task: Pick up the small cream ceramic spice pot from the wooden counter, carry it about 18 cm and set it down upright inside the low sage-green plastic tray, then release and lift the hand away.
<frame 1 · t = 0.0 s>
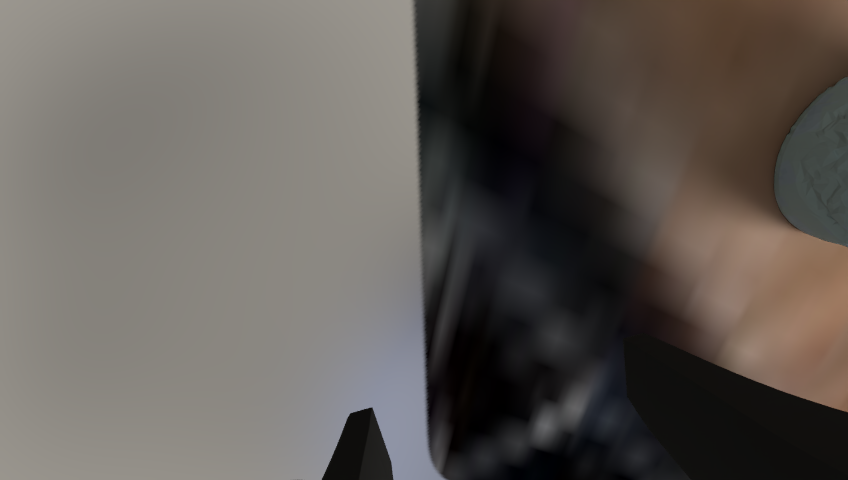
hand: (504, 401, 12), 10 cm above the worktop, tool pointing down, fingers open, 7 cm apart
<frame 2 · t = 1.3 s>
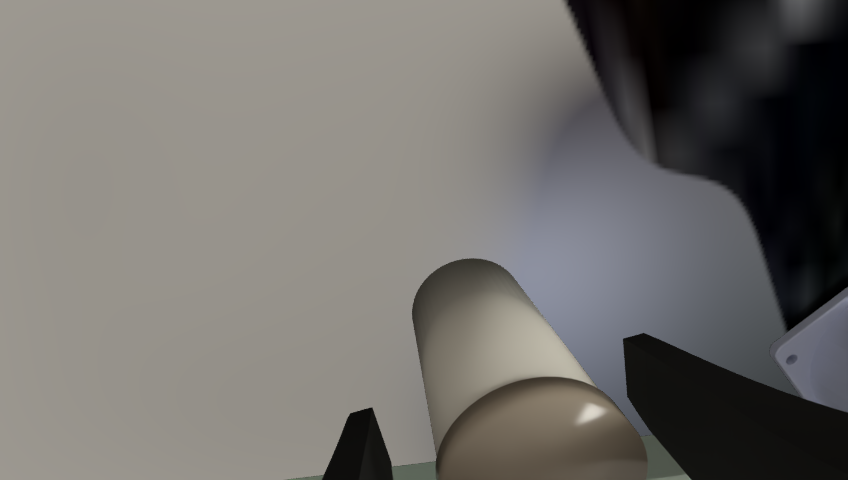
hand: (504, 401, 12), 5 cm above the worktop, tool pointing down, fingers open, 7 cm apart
spice pot: (467, 310, 17), on the worktop
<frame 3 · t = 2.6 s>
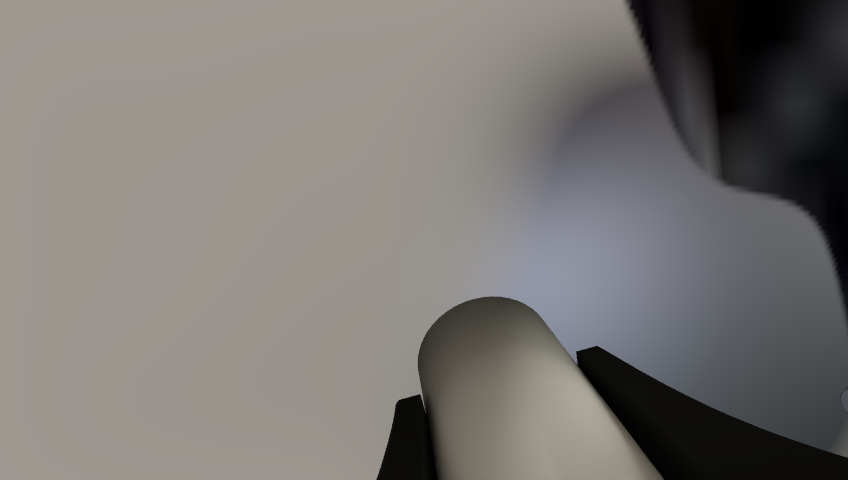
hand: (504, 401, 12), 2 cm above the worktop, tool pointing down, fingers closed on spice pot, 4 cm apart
spice pot: (485, 358, 14), on the worktop, touching gripper
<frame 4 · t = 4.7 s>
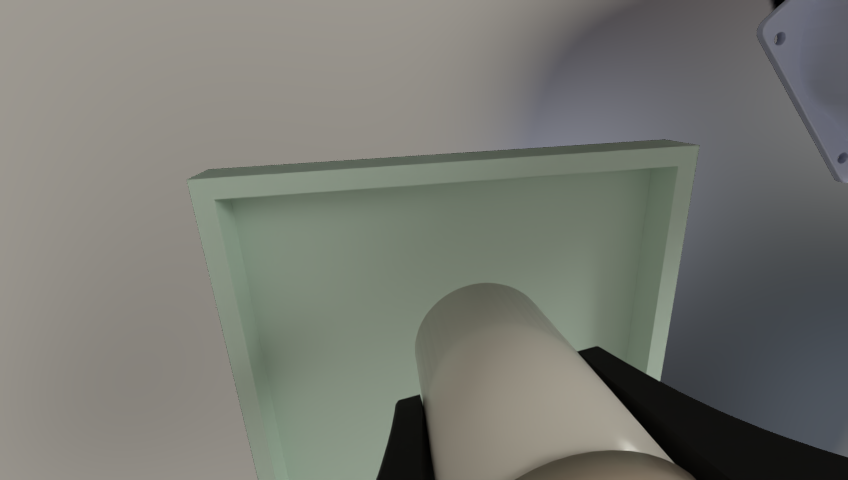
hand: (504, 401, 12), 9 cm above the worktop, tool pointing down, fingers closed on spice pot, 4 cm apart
spice pot: (482, 346, 14), point 7 cm above the worktop, touching gripper
tray: (454, 366, 22), on the worktop
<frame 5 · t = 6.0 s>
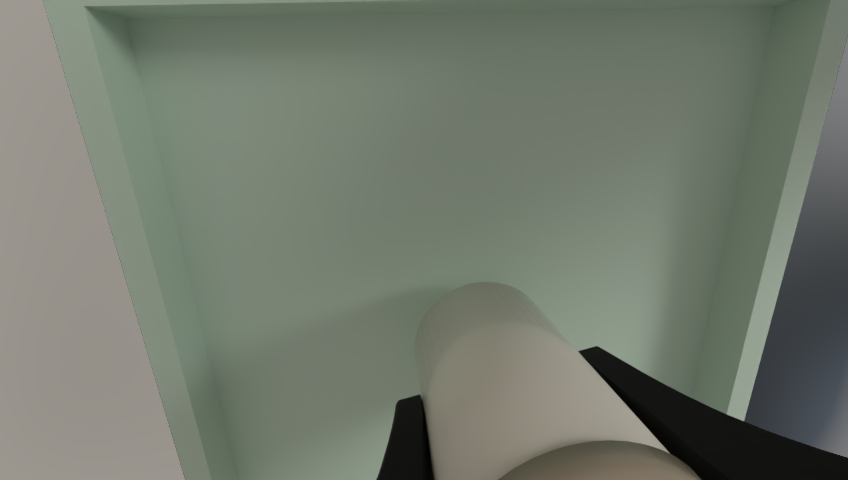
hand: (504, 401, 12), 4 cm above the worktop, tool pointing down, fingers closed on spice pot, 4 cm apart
spice pot: (481, 345, 14), point 2 cm above the worktop, tilted 5°, touching gripper
tray: (470, 322, 16), on the worktop
when the fingers open (4 cm above the worktop, at t = 6.9 s): spice pot stays where it is, resting on tray.
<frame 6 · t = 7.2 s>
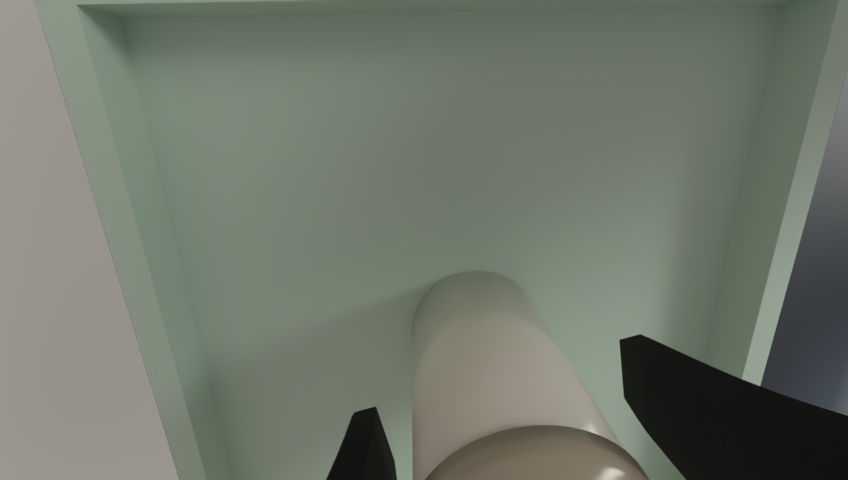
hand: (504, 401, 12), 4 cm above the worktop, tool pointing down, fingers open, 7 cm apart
spice pot: (475, 329, 15), point 1 cm above the worktop, tilted 5°, touching tray
tray: (472, 326, 15), on the worktop
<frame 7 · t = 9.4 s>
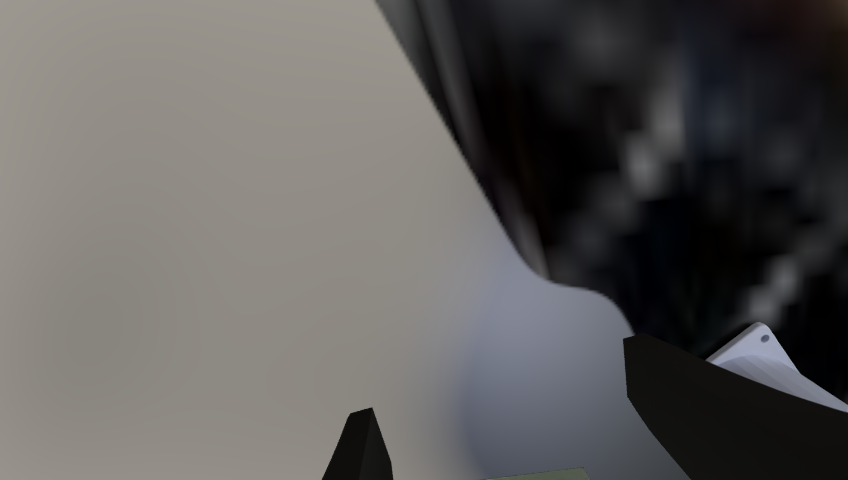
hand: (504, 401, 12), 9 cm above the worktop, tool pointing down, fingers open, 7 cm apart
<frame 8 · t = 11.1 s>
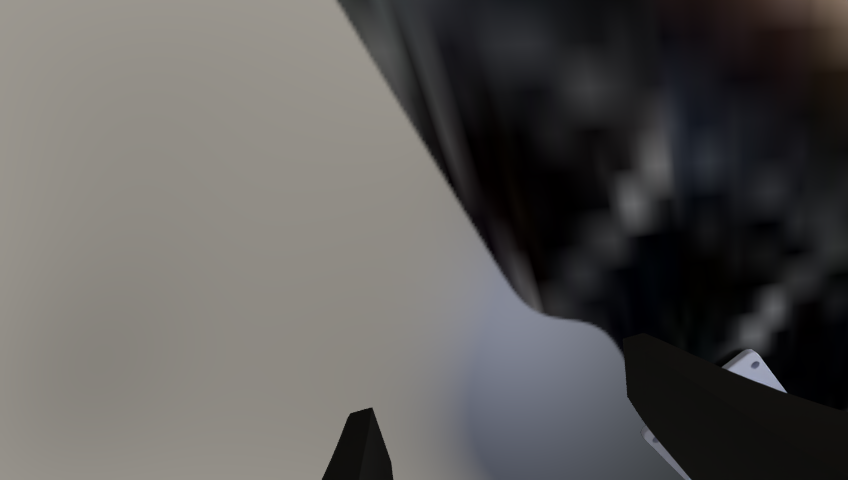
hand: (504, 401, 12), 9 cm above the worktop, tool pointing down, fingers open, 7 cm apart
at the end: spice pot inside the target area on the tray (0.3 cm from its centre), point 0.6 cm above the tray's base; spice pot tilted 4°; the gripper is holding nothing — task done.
